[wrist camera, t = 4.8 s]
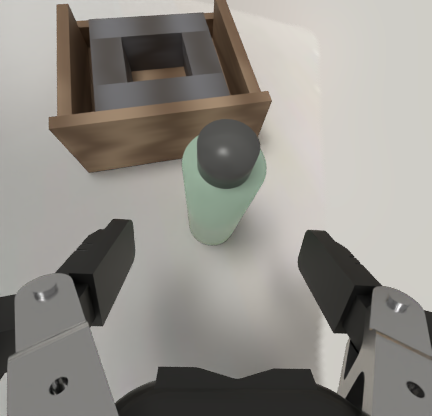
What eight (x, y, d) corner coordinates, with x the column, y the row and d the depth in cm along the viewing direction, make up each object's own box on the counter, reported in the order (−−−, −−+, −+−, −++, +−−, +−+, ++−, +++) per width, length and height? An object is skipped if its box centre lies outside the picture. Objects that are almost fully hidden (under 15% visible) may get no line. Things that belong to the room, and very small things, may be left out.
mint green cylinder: (194, 249, 19) (189, 197, 8) (185, 206, 20) (171, 112, 10) (239, 239, 20) (290, 179, 9) (228, 198, 21) (260, 100, 10)
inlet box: (89, 172, 21) (48, 129, 15) (82, 50, 26) (49, -16, 20) (253, 146, 23) (271, 100, 17) (217, 39, 28) (222, -23, 23)
